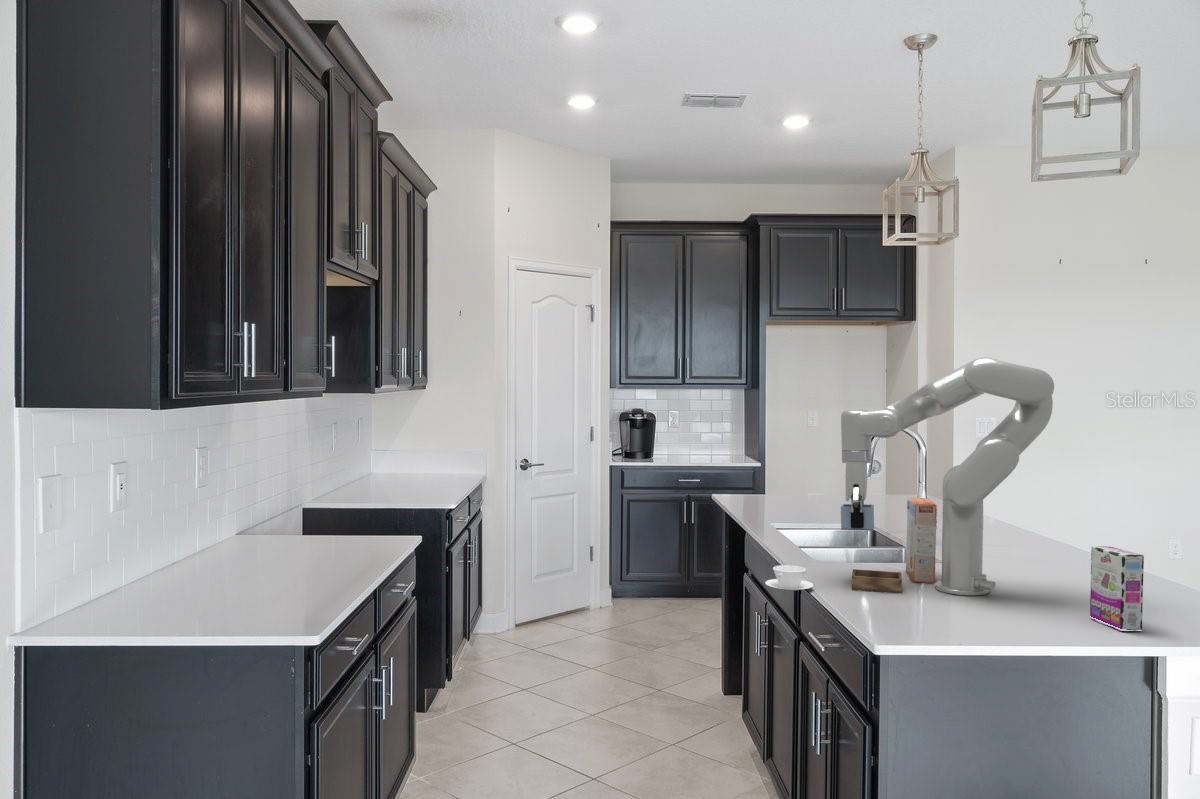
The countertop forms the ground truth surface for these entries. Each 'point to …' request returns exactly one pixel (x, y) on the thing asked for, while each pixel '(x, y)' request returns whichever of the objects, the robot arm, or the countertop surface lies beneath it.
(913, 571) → the cracker box
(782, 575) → the teacup
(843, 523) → the slate crate
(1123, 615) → the candy bar box
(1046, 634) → the countertop surface
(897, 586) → the walnut crate
